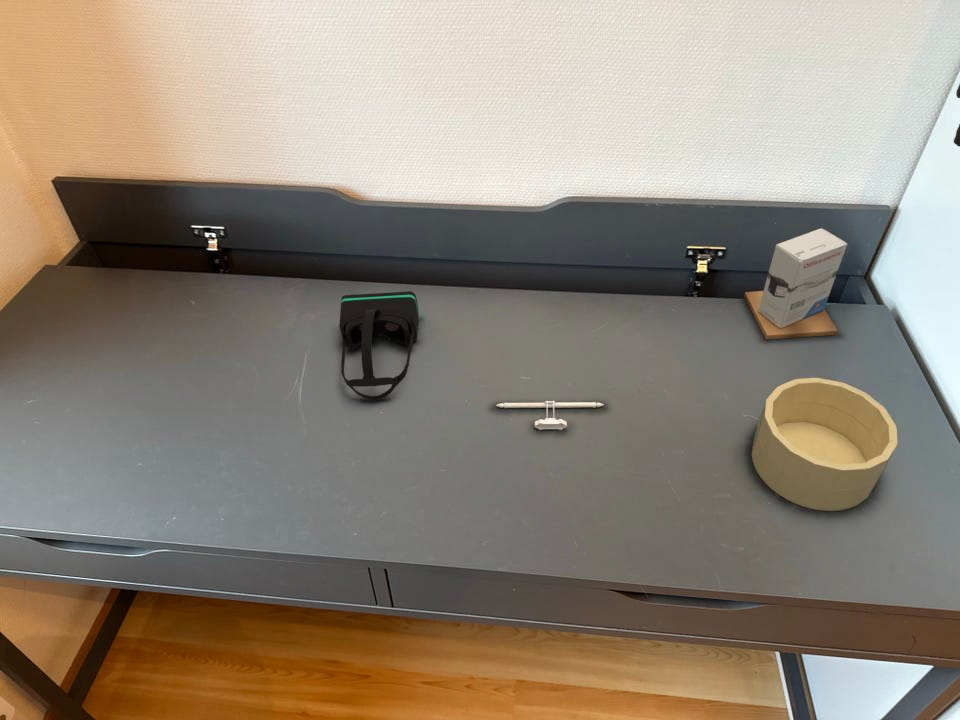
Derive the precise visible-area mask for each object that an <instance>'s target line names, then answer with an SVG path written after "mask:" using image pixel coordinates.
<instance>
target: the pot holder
mask: <svg viewBox="0 0 960 720" xmlns="http://www.w3.org/2000/svg"><path fill="white" fill-rule="evenodd" d="M763 291H764V290H757V291H756V290H755V291H745V292H744V294H743V297H744V300H745V301H746V303H747V305H748V307H749V309H750V311H751V314H752V315H753V317H754V319H755V321H756V323H757V325H758V326H759V329H760V330H761V333H762V334H763V337H764V338H765V340H777V339H778V340H780V339H794V338H809V337H822V336H823V337H825V336H837V334H838V331H839V330H838V328H837V327H836V325H835V324H834V322H833V321H832V319H831V317H830V316H829V314H828V312H827V311H826V310H825V308H824V310H823V311H821V312H818V313H816V314H814V315H811V316H809V317H807V318H804V319H802V320H800V321H797V322H795V323H793V324H791V325H788V326H786V327H784V328H779V327H777V326H776V325H775V324H774V323H772V322H771V321H770V320H769V319H767V318H766V317H765V316H764V315H762V314H761V313H760V312H759V311H758V309H759V305H760V302H761V298H762V295H763Z"/></svg>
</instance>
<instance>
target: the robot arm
mask: <svg viewBox="0 0 960 720" xmlns="http://www.w3.org/2000/svg"><path fill="white" fill-rule="evenodd" d="M955 94H956V98H957V99H960V83H959V85H958V87H957V89H956V93H955ZM953 144H954V145H956V146H957V147H960V123H959V124H958V127H957V128H956V132H955V137H954V139H953Z"/></svg>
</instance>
